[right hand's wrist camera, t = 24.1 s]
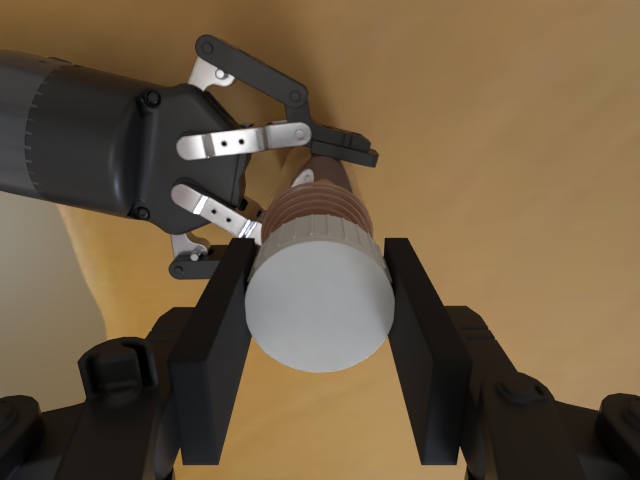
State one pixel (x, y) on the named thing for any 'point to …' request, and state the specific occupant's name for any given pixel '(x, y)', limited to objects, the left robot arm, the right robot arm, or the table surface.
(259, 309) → the cap
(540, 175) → the table surface
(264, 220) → the bottle
